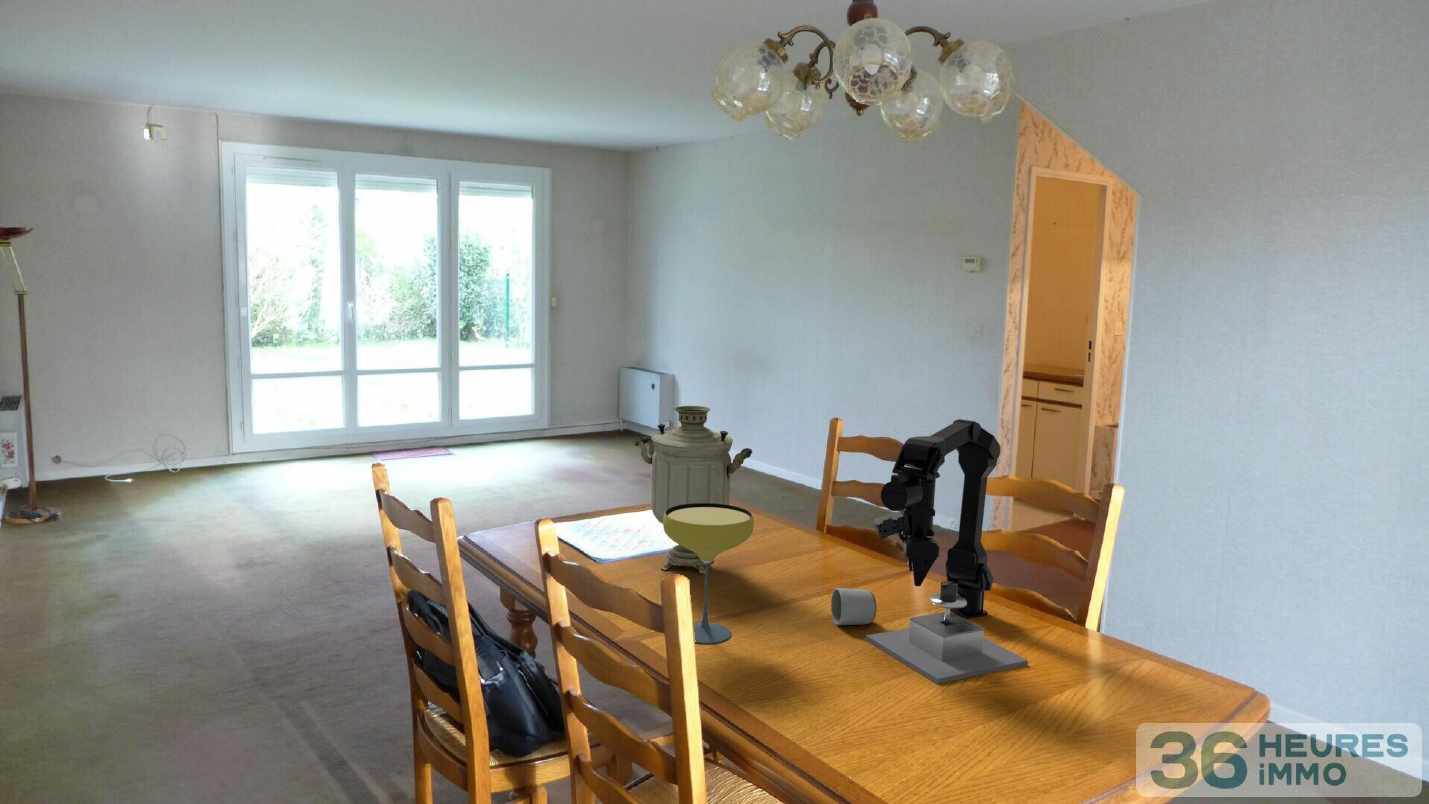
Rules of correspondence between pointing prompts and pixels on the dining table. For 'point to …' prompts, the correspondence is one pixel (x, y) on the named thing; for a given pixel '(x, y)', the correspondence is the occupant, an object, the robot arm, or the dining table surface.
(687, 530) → the cocktail glass
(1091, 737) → the dining table surface
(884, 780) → the dining table surface
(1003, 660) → the slate mat
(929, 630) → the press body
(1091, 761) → the dining table surface
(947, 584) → the plunger
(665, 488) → the samovar
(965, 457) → the robot arm
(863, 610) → the ceramic mug
